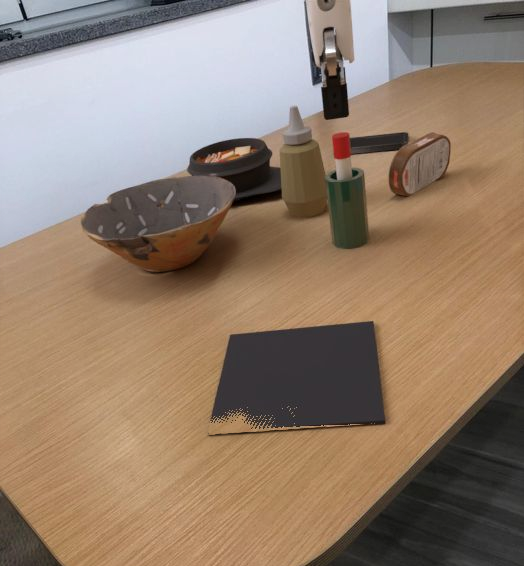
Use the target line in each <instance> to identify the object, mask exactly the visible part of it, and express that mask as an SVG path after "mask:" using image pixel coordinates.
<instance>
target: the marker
mask: <svg viewBox="0 0 524 566" xmlns="http://www.w3.org/2000/svg"><path fill="white" fill-rule="evenodd" d="M350 138H351V137H350V133H349V132H343V131H342V132H337V133H334V134H332V136H331V141H332V150H333V157H334V162H335V164H334V165H335V170H336V173H337V180H344V179H350V178H352V168H353V167H352V158H351V157H352V154H351V147H350Z"/></svg>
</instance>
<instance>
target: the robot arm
mask: <svg viewBox="0 0 524 566" xmlns="http://www.w3.org/2000/svg"><path fill="white" fill-rule="evenodd" d="M351 2H352V1H351V0H305V4H306V12H307V13H306V14H307V21H308V22H307V23H308V29H309V35H310V43H311V47H312V53H313V58H314V63H315V66H316V67H317V68H319V69H321V70H320V71H321V80H322V81H321V83H322V86H321V87H320V91H321V101H322V110H323V112H322V113H323V118H324V120H326V121H331V120H337V119H344V118H348V117H349V116H350V107H349V106H350V105H349V94H348V83H347V77H346V67H345V66H344V64H345V63H344V61H348V63H349V64H353V63H354V62H355V47H354V34H353V31H354V30H353V20H352V5H351V4H352V3H351Z"/></svg>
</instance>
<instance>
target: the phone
mask: <svg viewBox="0 0 524 566" xmlns="http://www.w3.org/2000/svg"><path fill="white" fill-rule="evenodd" d="M409 139H410V137H409V132H408V131H403V132H392V133H383V134H373V135H363V136H353V137H350V147H351V155H354V154H364V153H365V154H367V153H376V152H386V151H395V150H396V151H398V150H399V149H400V148H401V147H403V146H405V145H407V144H409Z"/></svg>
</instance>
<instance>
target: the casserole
mask: <svg viewBox="0 0 524 566" xmlns="http://www.w3.org/2000/svg"><path fill="white" fill-rule="evenodd" d="M272 157H273V150H271V149H270V148H269V147H268V146H267V143H266V142H265V141H264V140H263V139H261V138H256V137H240V138H231V139H226V140H221V141H217V142H213V143H211V144H208V145H205V146H203V147H201V148H199V149H197V150H195V151H194V152H193V153H191V155H190V156H189V164H188V166H187V168H186V171H187V173H188V174H189V176H215V177H219V178H223V179H225V180H227V181H229V182H230V183H232V184H233V185H234V186H235V190H236V195H235V198H234V201H241V200H244V199H247V198H250V197H253V196H258V195H265V194H270V193H274V192H278V191H279V190H282V185H281V168H280V167H279V166H272V165H271V159H272ZM234 201H233V202H234Z"/></svg>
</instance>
